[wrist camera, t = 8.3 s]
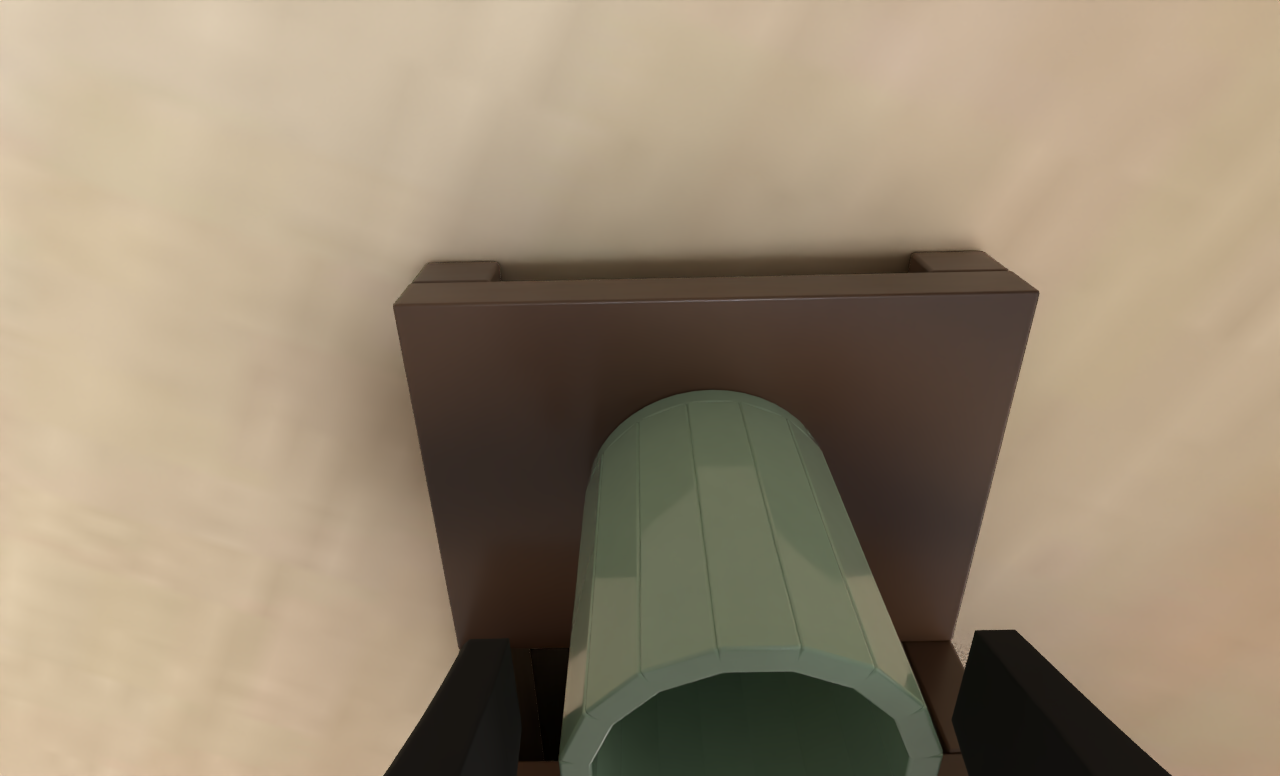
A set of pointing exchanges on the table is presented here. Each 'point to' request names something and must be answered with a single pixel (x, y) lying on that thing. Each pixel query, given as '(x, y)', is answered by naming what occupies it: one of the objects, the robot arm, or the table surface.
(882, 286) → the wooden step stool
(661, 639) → the pencil cup
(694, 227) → the table surface
